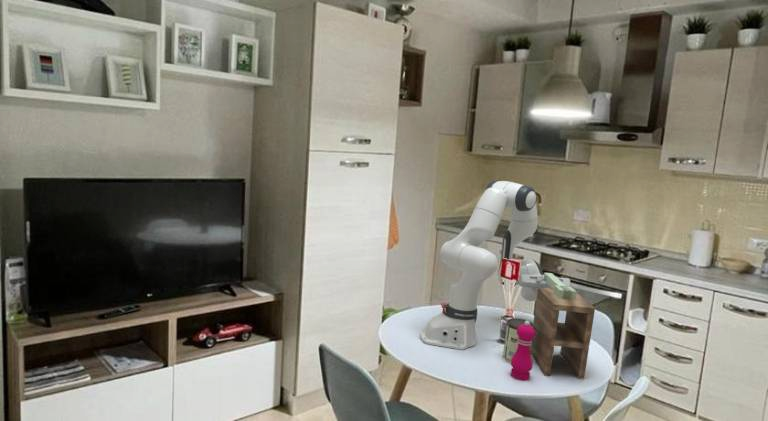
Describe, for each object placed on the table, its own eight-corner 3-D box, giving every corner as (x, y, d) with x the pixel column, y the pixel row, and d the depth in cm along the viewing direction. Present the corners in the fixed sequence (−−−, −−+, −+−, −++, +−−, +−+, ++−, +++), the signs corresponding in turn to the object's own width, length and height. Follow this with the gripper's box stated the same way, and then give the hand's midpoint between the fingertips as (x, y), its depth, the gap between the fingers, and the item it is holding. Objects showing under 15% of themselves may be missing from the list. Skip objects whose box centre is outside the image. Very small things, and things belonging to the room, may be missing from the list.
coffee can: (529, 355, 196) (534, 320, 194) (531, 367, 186) (536, 330, 184) (501, 351, 198) (506, 316, 196) (502, 362, 188) (507, 325, 186)
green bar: (558, 298, 184) (559, 290, 184) (539, 279, 208) (540, 272, 208) (575, 299, 184) (576, 291, 184) (554, 280, 208) (555, 273, 208)
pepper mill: (533, 381, 175) (541, 325, 172) (513, 380, 175) (520, 324, 172) (526, 371, 182) (533, 317, 179) (506, 370, 182) (513, 316, 179)
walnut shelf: (544, 375, 180) (554, 304, 177) (529, 351, 200) (538, 287, 196) (584, 379, 180) (595, 308, 176) (565, 354, 200) (574, 290, 196)
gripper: (514, 276, 219) (523, 267, 206) (562, 280, 219) (575, 272, 206) (514, 290, 216) (524, 283, 204) (563, 295, 216) (575, 287, 203)
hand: (550, 277), depth 205 cm, fingers closed on green bar, 3 cm apart
